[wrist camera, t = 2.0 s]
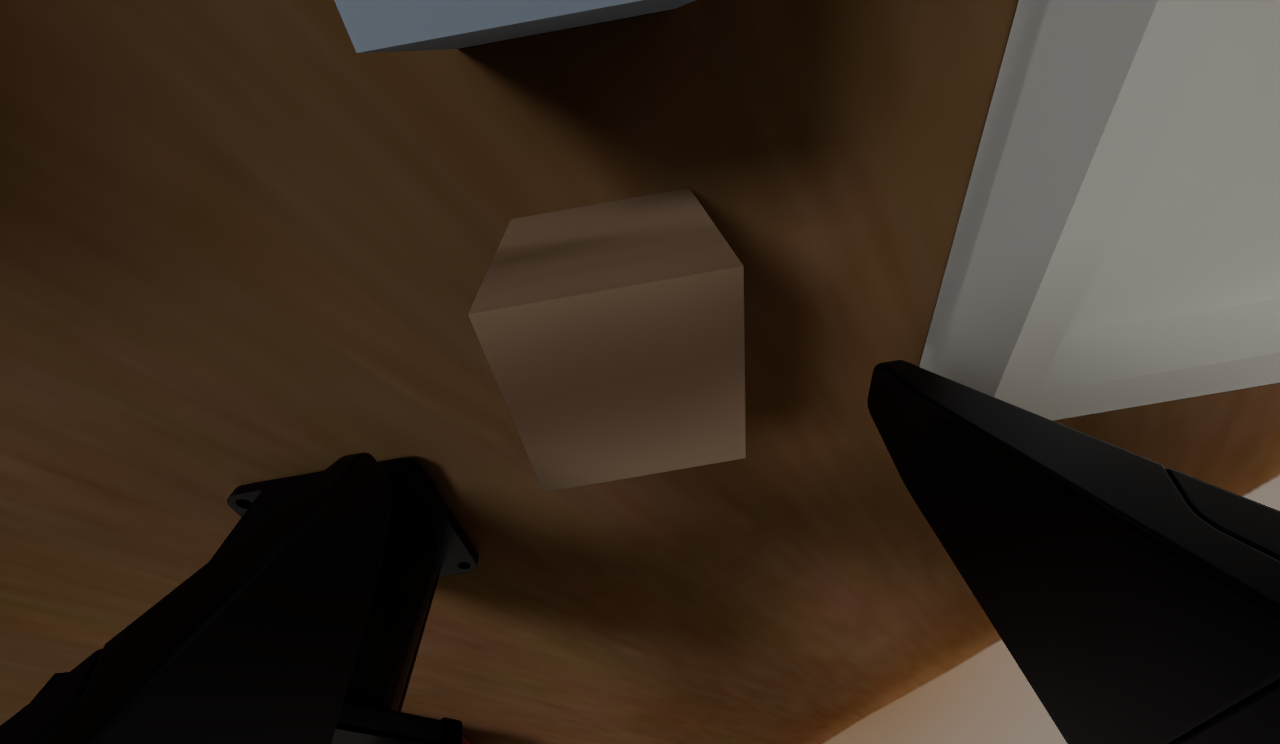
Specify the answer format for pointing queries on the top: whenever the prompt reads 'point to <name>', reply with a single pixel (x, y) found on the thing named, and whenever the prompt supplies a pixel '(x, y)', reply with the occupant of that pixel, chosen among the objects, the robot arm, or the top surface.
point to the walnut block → (618, 339)
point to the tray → (1121, 210)
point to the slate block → (475, 20)
